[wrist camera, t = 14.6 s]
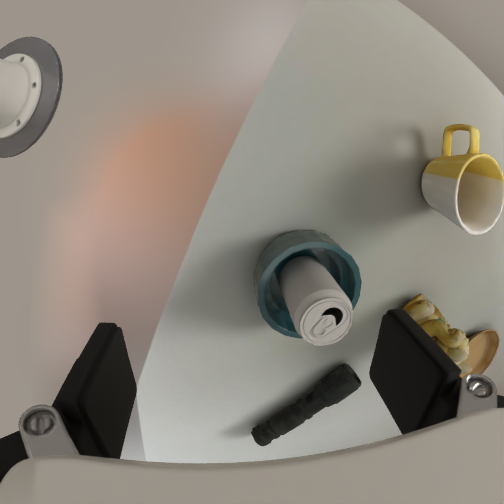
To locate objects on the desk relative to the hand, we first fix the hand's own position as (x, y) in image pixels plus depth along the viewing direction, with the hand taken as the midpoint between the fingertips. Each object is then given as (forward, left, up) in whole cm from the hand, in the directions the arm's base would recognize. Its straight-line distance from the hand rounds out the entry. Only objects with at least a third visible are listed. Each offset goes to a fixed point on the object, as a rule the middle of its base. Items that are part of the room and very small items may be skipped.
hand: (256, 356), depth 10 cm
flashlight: (+11, -34, -30) cm, 47 cm away
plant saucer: (+49, -31, -30) cm, 65 cm away
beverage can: (+9, -10, -29) cm, 32 cm away
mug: (+30, +5, -30) cm, 43 cm away
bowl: (+9, -10, -30) cm, 33 cm away
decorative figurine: (+29, -19, -30) cm, 46 cm away
